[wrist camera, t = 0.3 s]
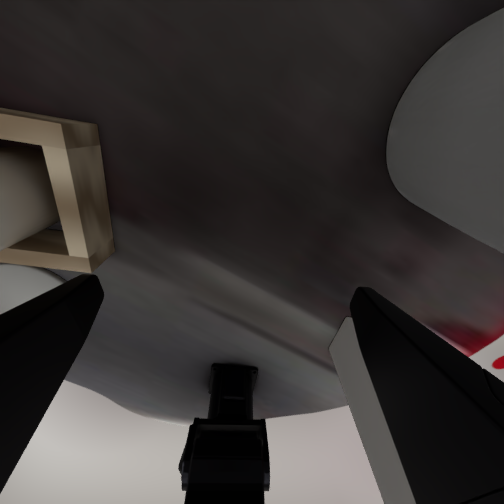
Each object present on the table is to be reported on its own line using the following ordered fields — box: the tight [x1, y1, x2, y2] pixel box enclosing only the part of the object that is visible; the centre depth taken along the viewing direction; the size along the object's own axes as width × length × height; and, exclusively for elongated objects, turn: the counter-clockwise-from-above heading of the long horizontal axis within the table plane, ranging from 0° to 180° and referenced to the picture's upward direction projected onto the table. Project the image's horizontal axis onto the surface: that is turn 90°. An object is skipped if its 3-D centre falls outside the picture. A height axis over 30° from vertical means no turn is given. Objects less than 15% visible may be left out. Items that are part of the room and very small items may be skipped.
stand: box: [0, 108, 115, 273], centre depth 18 cm, size 11×11×4 cm
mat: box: [0, 263, 67, 314], centre depth 26 cm, size 11×11×1 cm
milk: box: [329, 317, 416, 504], centre depth 20 cm, size 6×6×22 cm
